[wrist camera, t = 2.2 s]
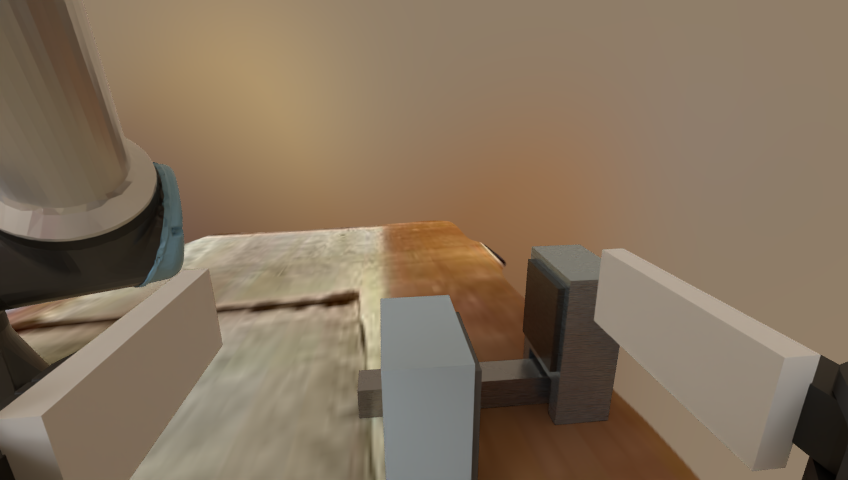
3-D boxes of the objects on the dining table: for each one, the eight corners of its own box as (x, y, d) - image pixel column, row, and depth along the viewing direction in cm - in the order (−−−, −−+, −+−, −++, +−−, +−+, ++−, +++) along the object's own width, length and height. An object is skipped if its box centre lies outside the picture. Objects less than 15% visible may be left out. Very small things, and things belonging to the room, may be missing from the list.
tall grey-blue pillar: (477, 551, 26) (486, 363, 22) (389, 562, 25) (380, 371, 21) (454, 446, 34) (456, 294, 30) (387, 452, 33) (380, 298, 29)
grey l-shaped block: (357, 441, 34) (347, 292, 30) (362, 378, 43) (354, 254, 38) (607, 420, 37) (630, 277, 32) (566, 364, 45) (579, 244, 41)
